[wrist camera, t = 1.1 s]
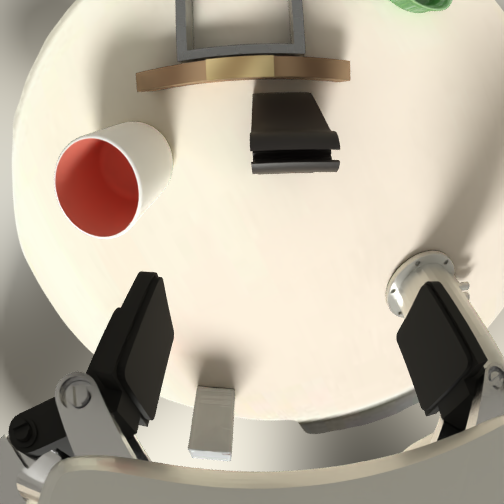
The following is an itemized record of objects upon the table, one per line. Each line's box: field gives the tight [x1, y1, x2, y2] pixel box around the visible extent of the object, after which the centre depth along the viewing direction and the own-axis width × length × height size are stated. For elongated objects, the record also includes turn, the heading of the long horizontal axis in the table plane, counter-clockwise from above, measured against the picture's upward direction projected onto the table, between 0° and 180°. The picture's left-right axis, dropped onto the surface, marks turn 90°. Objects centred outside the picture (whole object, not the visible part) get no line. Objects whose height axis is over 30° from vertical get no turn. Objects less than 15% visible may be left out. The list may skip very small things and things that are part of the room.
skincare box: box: [188, 386, 235, 461], centre depth 48 cm, size 8×7×16 cm
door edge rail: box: [136, 55, 350, 92], centre depth 22 cm, size 20×2×4 cm, turn 92°
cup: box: [54, 121, 173, 239], centre depth 25 cm, size 10×10×10 cm
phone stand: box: [250, 92, 340, 174], centre depth 22 cm, size 9×6×12 cm, turn 4°
